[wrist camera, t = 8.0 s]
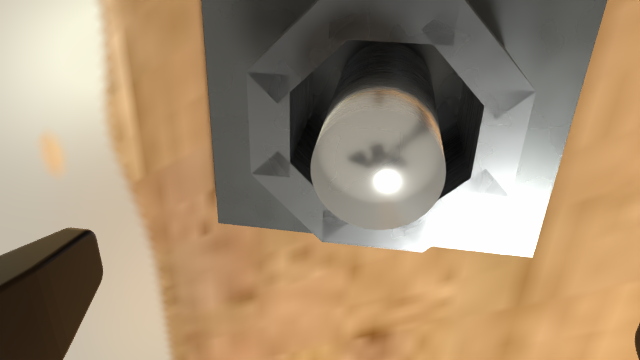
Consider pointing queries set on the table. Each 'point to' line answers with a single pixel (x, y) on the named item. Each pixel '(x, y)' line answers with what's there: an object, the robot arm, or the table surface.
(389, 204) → the piston post
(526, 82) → the octagonal metal collar
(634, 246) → the table surface
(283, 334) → the table surface
